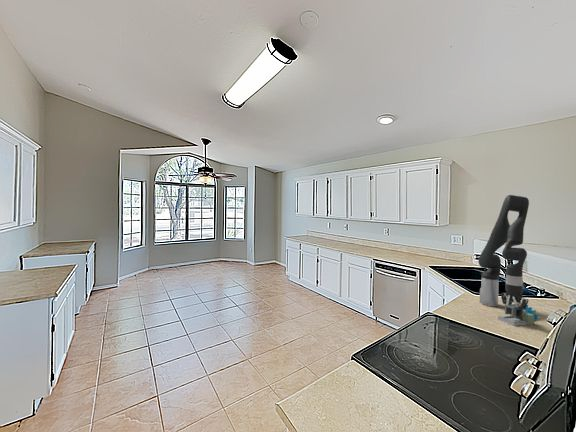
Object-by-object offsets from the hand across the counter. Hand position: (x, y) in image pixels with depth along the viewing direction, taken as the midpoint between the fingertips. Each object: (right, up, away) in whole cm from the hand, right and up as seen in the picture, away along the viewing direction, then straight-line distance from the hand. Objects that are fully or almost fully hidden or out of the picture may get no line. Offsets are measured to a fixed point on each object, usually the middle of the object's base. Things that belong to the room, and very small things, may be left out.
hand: (513, 314), depth 156 cm
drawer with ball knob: (+1, -4, +1) cm, 5 cm away
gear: (+14, -5, +7) cm, 16 cm away
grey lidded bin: (0, 0, 0) cm, 0 cm away
